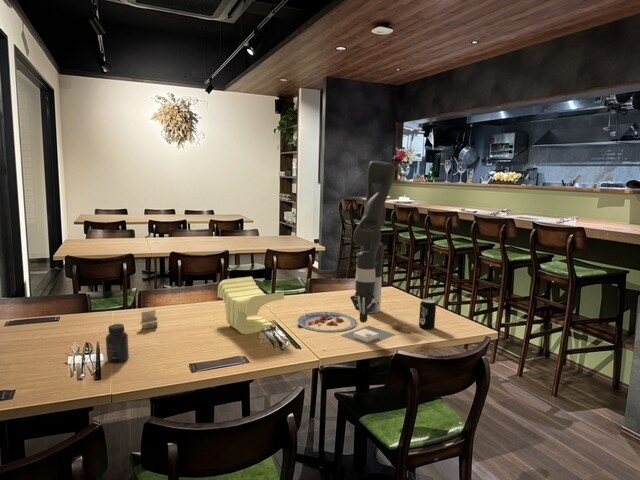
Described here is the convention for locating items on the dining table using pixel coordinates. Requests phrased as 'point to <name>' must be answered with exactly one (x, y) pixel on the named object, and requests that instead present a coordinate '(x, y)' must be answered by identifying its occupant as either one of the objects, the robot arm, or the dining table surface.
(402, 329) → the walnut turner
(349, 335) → the slate board
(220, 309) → the dining table surface
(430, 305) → the beverage can
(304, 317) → the ceramic plate
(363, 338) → the tile
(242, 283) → the slatted curved stool
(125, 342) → the supplement bottle
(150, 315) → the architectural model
